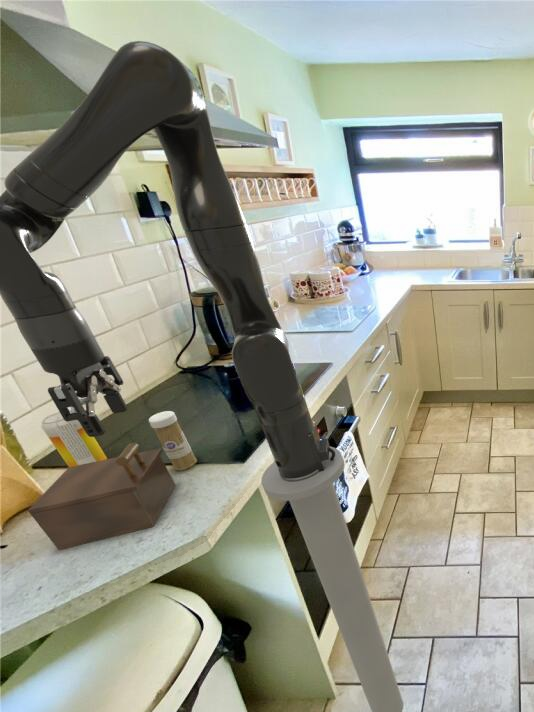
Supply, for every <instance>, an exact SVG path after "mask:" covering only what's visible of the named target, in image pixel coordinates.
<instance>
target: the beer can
mask: <svg viewBox="0 0 534 712" xmlns="http://www.w3.org/2000/svg"><path fill="white" fill-rule="evenodd" d="M68 410H69V411H70V413H72V412H71V409H68ZM40 422H41V429H42V430H43V431H44V433H45V435H46V436H47V438H48V439H49V440H50V442H51V443H52V445H53V446H54V448H55V449H56V450H57V452H58V453H59V455H60V456H61V458H62V459H63V461H64V462H65V464H66V466H67V468H69V467H72V466H77V465H82V464H87V463H92V462H97V461H101V460H106V459H108V457H107V455H106V454H105V452H104V450H103V449H102V447H101V446H100V444H99V443H98V441H97V440H96V438H95V437H89V436H88V435H87V434H86V432H85V430H84V429H83V427H82V426H81V424H80V422H79V421H78V420H73V421H68V422H66V421H65V420H64V419H63V417H62V415H61V413H60V412H59V411H57V412H54V413H51V414H49V415H47V416H45V417H43V418H42V419H41V421H40Z"/></svg>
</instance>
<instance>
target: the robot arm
mask: <svg viewBox="0 0 534 712" xmlns="http://www.w3.org/2000/svg"><path fill="white" fill-rule="evenodd" d="M209 117H210V116H209V113H208V108H207V104H206V100H205V96H204V91H203V89H202V86H201V84H200V82H199V80H198V79H197V77H196V76H195V74H194V73H193V71H192V70H191V69H190V68H189V67H188V66H187V65H186V64H185V63H184V62H182V61H181V60H180V59H179V58H178V57H177V56H176V55H174V54H173V53H172V52H171V51H169V50H167V48H164V47H162V46H160V45H159V44H156V43H153V42H149V41H143V40H135V41H130V42H127V43H125V44H123V45H121V46H120V47H119V48H118V49H117V51H116V52H115V53H114V55H113V57H112V58H111V59H110V61H109V62H108V64H107V65H106V67H105V68H104V70H103V72H102V73H101V75H99V78H98V79H97V81H96V82H95V84H94V85H93V87H92V88H91V89H90V91H89V92H88V93H87V95H86V97H84V99H83V100H82V101H81V103H80V104H79V105H78V106H77V108H75V110H74V111H73V112H72V113H71V114H70V116H69V117H67V118H66V119H65V121H64V122H63V123H62V124H61V125H60V126H58V128H57V129H56V130H55V131H54V132H53V133H51V134H50V135H49V136H48V137H47V138H46V139H45V140H44V141H43V142H41V143H40V145H38V146H37V147H36V148H35V149H34V150H33V151H31V152H30V153H29V154H28V155H27V156H26V157H25V158H24V159H22V160H21V161H20V163H18V164H17V165H16V166H15V167H14V168H12V169H11V171H10V172H9V173H8V174H7V175H6V178H4V181H3V182H4V183H3V184H4V188H5V190H4V191H3V192H2V193H1V195H0V297H1V300H2V301H3V303H4V304H5V306H6V307H7V309H8V311H9V312H10V314H11V315H12V317H13V318H14V321H15V323H16V325H17V328H18V330H19V332H20V334H21V336H22V338H23V339H24V341H25V343H26V344H27V345H28V347H29V348H30V351H31V352H32V354H33V355H34V357H35V358H36V360H37V361H38V363H39V365H40V366H41V368H42V370H43V371H44V372H45V373H47V374H53V375H56V376H58V378H59V382H60V384H59V385H57V386H51V387H48V388H47V393H48V394H49V397H50V398H51V400H52V402H53V403H54V405H55V407H56V408H57V410H58V412H60V413H61V415H62V417H63V419H64V420H65V421H66V422H68V421H73V420H78V421H79V422H80V424H81V426H82V427H83V429H84V430H85V432H86V434H87V435H88V436H89V437H94V438H95V437H99V436H103V435H104V434H105V433H106V432H107V430H106V429H105V427H104V425H103V424H102V422H101V420H100V419H99V417H98V415H97V414H96V412H95V411H96V410H95V404H96V403H97V402H98V394H99V393H100V394H102V396H103V399H104V400H105V402H106V404H107V406H108V407H109V409H110V411H111V413H112V414H119V413H120V414H121V413H124V412H127V411H128V409H129V407H128V406H127V404H126V402H125V399H124V398H123V396H122V395H121V390H122V389H121V386H123V385H124V380H123V378H122V376H121V374H120V373H119V371H118V369H117V367H116V366H115V364H114V363H113V361H112V359H111V357H110V356H109V355H105V354H104V352H103V350H102V348H101V346H100V345H99V342H98V340H97V339H96V337H95V335H94V334H93V333H94V332H92V329H91V328H90V326H89V324H88V322H87V320H86V318H85V317H84V316H83V315H82V313H81V312H80V311H79V309H78V308H77V306H76V304H75V302H74V301H73V298H72V296H71V295H70V293H69V291H68V290H67V288H66V286H65V284H64V283H63V281H62V279H60V277H59V276H58V275H56V274H55V273H53V272H50V271H46V270H45V271H44V270H43V269H42V267H41V266H40V265H39V263H38V262H37V260H35V258H34V257H33V256H32V253H34V252H37V251H38V250H39V249H41V248H43V246H45V245H46V244H47V243H48V242H49V241H50V240H51V239H52V238H53V236H55V234H56V233H57V231H58V230H59V229H60V227H61V226H62V225H63V223H64V222H65V220H66V218H67V217H68V216H70V215H71V214H72V213H74V211H76V210H77V209H78V208H79V207H80V206H81V205H82V204H83V203H85V201H87V200H88V199H89V198H90V197H91V196H92V195H93V194H94V193H96V192H97V190H98V189H99V188H100V187H101V186H102V185H103V184H104V183H105V181H106V180H107V179H108V177H109V176H110V175H111V173H112V172H113V170H114V168H115V167H116V165H117V164H118V162H119V161H120V159H121V158H122V157H123V155H124V154H125V153H126V152H127V151H128V150H129V149H130V148H131V146H133V144H135V143H136V142H137V141H138V140H139V139H141V138H142V137H143V136H145V135H146V134H148V133H149V132H150V131H152V130H153V131H154V133H155V135H156V137H157V139H158V141H159V143H160V146H161V148H162V150H163V153H164V155H165V157H166V160H167V164H168V167H169V171H170V177H171V183H172V190H173V191H172V192H173V196H174V202H175V207H176V211H177V215H178V218H179V222H180V224H181V227H182V230H183V233H184V235H185V237H186V240H187V243H188V245H189V247H190V250H191V253H192V254H193V256H194V259H195V260H196V262H197V264H198V266H199V268H200V270H202V273H203V274H204V275H205V277H206V279H207V280H208V281H209V282H210V284H211V285H212V287H213V288H214V290H215V291H216V292H217V294H218V295H219V297H220V299H221V301H222V303H223V305H224V307H225V310H226V313H227V315H228V319H229V322H230V325H231V330H232V334H233V337H234V342H233V346H232V350H231V359H232V362H233V363H232V364H233V365H234V368H235V371H236V373H237V376H238V378H239V380H240V383H241V386H242V389H243V391H244V392H245V395H246V397H247V398H248V400H249V401H250V402H251V404H252V406H253V408H254V410H255V413H256V417H257V419H258V421H259V424H260V427H261V429H262V431H263V434H264V436H265V439H266V442H267V445H268V447H269V449H270V452H271V454H272V460H273V462H275V464H276V466H277V468H278V470H279V474H280V476H281V478H282V479H283V480H286V481H300V480H304V479H307V478H310V477H312V476H314V475H315V474H317V473H318V472H321V471H324V470H325V460H328V459H329V452H331V453H332V456H331V458H330V460H331V461H333V460H334V457H335V452H334V450H333V449H331V448H330V447H331V446H330V442H329V439H328V438H322V439H321V436H320V433H319V431H318V428H317V425H316V422H315V421H313V420H312V417H311V414H310V410H309V407H308V404H307V402H306V397H305V395H304V391H303V388H302V384H300V382H299V379H298V377H297V373H296V370H295V368H294V365H293V362H292V358H291V354H290V346H289V340H288V337H287V336H286V334H285V332H284V330H283V328H282V326H281V324H280V322H279V320H278V318H277V316H276V313H275V312H274V309H273V307H272V304H271V302H270V300H269V298H268V295H267V291H266V288H265V283H264V278H263V273H262V269H261V266H260V261H259V258H258V255H257V252H256V251H257V250H256V248H255V245H254V241H253V238H252V236H251V233H250V230H249V227H248V224H247V220H246V219H245V216H244V213H243V211H242V208H241V206H240V202H239V201H238V198H237V196H236V193H235V191H234V188H233V186H232V184H231V181H230V179H229V177H228V175H227V173H226V170H225V168H224V166H223V163H222V161H221V158H220V155H219V151H218V149H217V145H216V141H215V137H214V133H213V130H212V125H211V122H210V118H209ZM111 376H112V377H111ZM84 406H85V407H84ZM69 408H70V409H69ZM69 410H71V412H72V413H70V411H69Z"/></svg>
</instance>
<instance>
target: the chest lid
mask: <svg viewBox="0 0 534 712" xmlns="http://www.w3.org/2000/svg"><path fill="white" fill-rule="evenodd" d="M139 450H140V445H139V444H138V443H136V442H130V443H128V444H127V446H126V447H125V448H124V449H123V450H122V451H121V452H120V454H119V456H116V457H112V458H107V459H106V460H101V461H97V462H92V463H87V464H82V465H77V466H72V467H67V468H66V469H65V470H64V471H63V472H62V474H61V475H60V476H58V478H57V479H56V480H55V481H54V482H52V484H51V485H50V486H49V488H47V490H46V491H45V492H44V493H43V494H42V495H41V496H40V497H38V499H37V500H36V501H35V502H34V503H33V504H32V505H31V506H30V507H29V508H28V509H27V512H28V513H29V514H30V515H31V514H32V513H36V512H41V511H45V510H50V509H54V508H58V507H63V506H67V505H72V504H76V503H81V502H85V501H90V500H94V499H98V498H103V497H107V496H112V495H116V494H121V493H125V492H130V491H134V490H137V489H138V488H139V486H140V485H141V483H142V482H143V480H144V479H145V477H146V476H147V474H148V473H149V471H150V470H151V468H152V467H153V465H154V464H155V462H156V461H157V459H158V458H159V456H161V455H162V453H163V452H164V451H163V449H162V448H156V449H150V450H145V451H142V452H139Z"/></svg>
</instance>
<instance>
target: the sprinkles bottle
mask: <svg viewBox="0 0 534 712" xmlns="http://www.w3.org/2000/svg"><path fill="white" fill-rule="evenodd" d="M175 413H176V412H174V411H173V410H172V411H171V410H164V411H161V412H157V413H155V414H153V415H151V416H150V417H149V418H148V423H149V425H150V427H151V429H153V430H154V432H155V434H156V436H157V438H158V440H159V442H160V444H161V447H162V448H163V450H164V452H165V454H166V456H167V458H168V460H169V461H170V464H171V465H172V467H173V470H175V471H185V470H188V469H190V468H192V467H193V466H195V465H196V464H197V462H198V459H197V457H196V456H195V453H194V452H193V450H192V448H191V446H190V443H189V442H188V440H187V438H186V436H185V434H184V431H183V430H182V427H181V426H180V423H179V421H178V417H177V415H176V414H175Z"/></svg>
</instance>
